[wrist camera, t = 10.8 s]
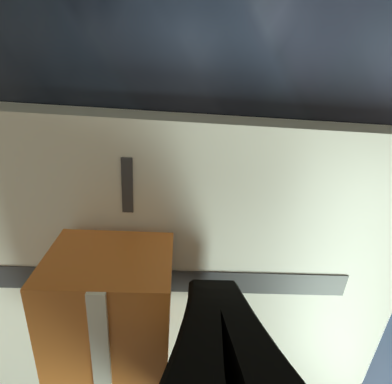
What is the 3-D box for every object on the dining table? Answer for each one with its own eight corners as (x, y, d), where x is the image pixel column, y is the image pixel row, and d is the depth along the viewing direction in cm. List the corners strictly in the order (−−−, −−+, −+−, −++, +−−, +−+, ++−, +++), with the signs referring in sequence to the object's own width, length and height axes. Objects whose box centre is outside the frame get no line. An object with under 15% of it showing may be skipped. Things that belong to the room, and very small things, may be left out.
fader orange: (169, 336, 10) (165, 419, 8) (76, 335, 10) (44, 419, 8) (173, 232, 8) (170, 296, 6) (63, 229, 8) (17, 293, 6)
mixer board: (304, 455, 17) (316, 492, 15) (-59, 459, 15) (-84, 500, 14) (424, 127, 9) (467, 139, 8) (-235, 87, 8) (-322, 92, 7)
